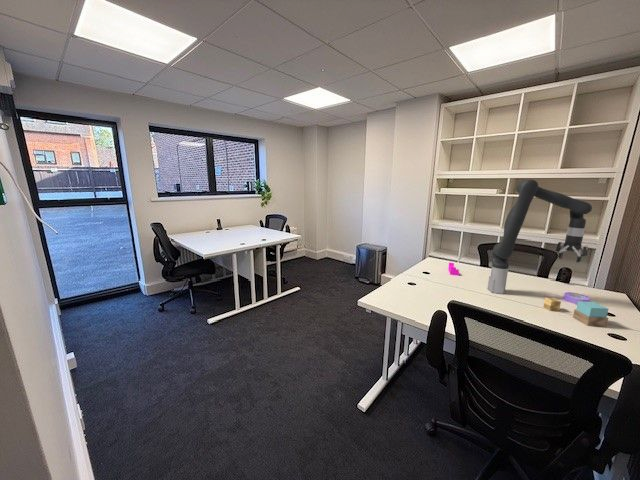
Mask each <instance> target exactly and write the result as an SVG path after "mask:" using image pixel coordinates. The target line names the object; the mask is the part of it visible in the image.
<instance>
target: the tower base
mask: <svg viewBox="0 0 640 480" xmlns="http://www.w3.org/2000/svg"><path fill="white" fill-rule="evenodd" d="M576 309H577V308H575V309H574V310H573V316H572V318H573V319H575V320H576V321H578V322H580V323H581V324H584V325H585V326H587V327H603V328H604V327H605V328H607V326H608V322H609V318H608V317H607V318H602V317H589V316H587V315H585V314H583V313H581V312H579V311H578V310H576Z"/></svg>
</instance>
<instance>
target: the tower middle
mask: <svg viewBox="0 0 640 480" xmlns="http://www.w3.org/2000/svg"><path fill="white" fill-rule="evenodd" d="M575 309H576V310H578V311H579V312H581V313H583V314H585V315H587V316H589V317H602V318H608V317H607V316H608V313H609V308H608V307H606V306H604V305H601V304H599V303H598V302H595V301H590V302H582V301H578V304H576V308H575Z"/></svg>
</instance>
